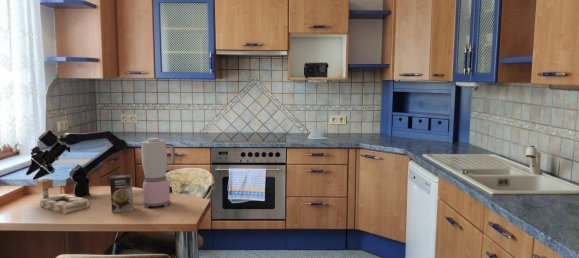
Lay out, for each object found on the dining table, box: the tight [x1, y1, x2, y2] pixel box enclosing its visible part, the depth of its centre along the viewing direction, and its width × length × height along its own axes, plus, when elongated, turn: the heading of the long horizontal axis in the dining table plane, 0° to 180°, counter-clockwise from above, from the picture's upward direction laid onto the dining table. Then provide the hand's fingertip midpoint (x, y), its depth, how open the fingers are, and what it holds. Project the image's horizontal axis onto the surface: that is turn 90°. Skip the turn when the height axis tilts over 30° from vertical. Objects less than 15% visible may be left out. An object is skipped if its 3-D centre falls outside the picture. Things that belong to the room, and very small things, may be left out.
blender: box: [139, 137, 176, 209], centre depth 216 cm, size 16×12×32 cm
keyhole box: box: [39, 193, 90, 215], centre depth 217 cm, size 20×12×4 cm, turn 57°
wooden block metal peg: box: [36, 178, 54, 200], centre depth 225 cm, size 5×5×11 cm
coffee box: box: [109, 174, 134, 214], centre depth 210 cm, size 9×6×16 cm
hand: (30, 177), depth 222 cm, fingers open, 9 cm apart
